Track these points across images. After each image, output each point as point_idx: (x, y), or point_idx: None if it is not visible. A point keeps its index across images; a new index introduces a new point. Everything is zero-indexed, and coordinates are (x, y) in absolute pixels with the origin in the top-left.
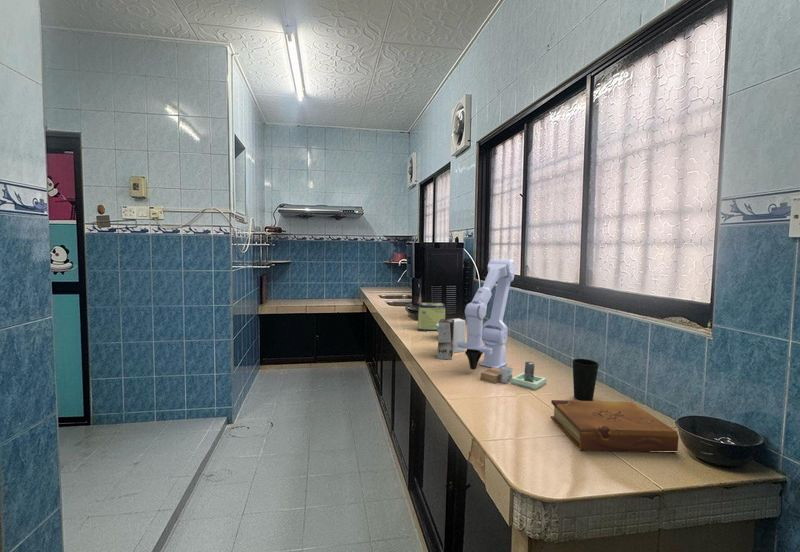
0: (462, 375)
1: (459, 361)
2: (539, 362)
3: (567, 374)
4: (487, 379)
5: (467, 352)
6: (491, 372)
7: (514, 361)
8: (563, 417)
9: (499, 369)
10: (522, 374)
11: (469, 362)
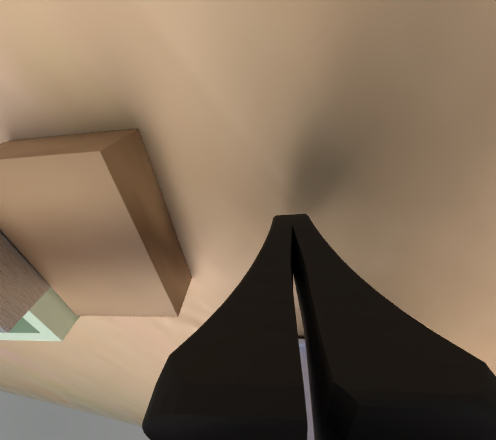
0: (320, 71)
1: (493, 323)
2: None
3: (77, 395)
4: (62, 138)
5: (416, 393)
6: (69, 225)
7: None
8: None
9: (120, 308)
10: (32, 324)
11: (326, 247)
